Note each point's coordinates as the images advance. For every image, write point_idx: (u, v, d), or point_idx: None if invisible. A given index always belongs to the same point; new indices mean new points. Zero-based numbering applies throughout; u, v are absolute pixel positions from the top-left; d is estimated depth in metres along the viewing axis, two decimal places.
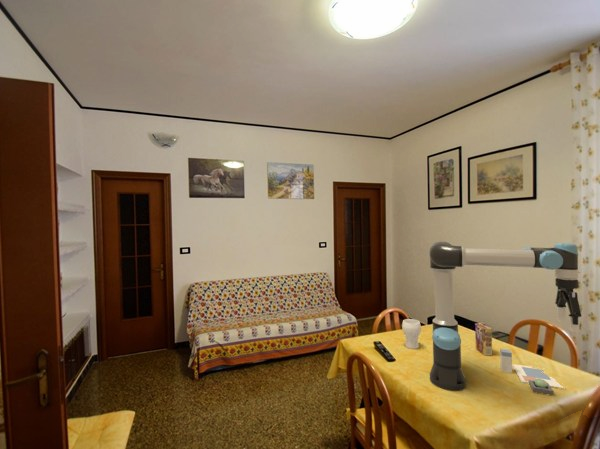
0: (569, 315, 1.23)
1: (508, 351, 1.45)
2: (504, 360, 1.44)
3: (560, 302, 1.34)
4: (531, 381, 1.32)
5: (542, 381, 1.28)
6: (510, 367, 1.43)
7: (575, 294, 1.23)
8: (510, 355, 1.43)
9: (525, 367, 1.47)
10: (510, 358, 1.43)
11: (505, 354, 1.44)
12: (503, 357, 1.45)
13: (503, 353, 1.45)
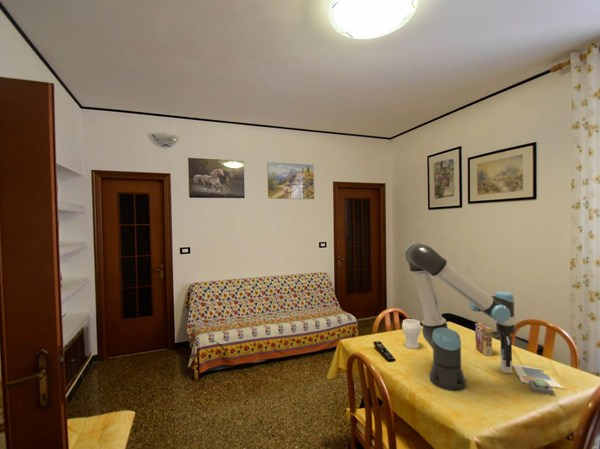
0: (503, 359, 1.43)
1: None
2: None
3: (503, 348, 1.48)
4: (531, 381, 1.32)
5: (542, 381, 1.28)
6: None
7: (510, 343, 1.40)
8: None
9: (525, 367, 1.47)
10: None
11: None
12: (503, 357, 1.45)
13: (503, 353, 1.45)
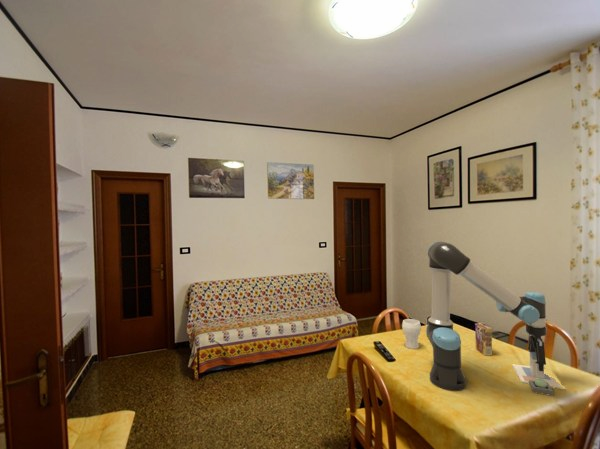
0: (535, 362, 1.35)
1: None
2: (535, 364, 1.39)
3: (531, 348, 1.44)
4: (531, 381, 1.32)
5: (542, 381, 1.28)
6: None
7: (542, 343, 1.33)
8: None
9: (525, 367, 1.47)
10: None
11: None
12: (534, 361, 1.39)
13: (534, 356, 1.39)
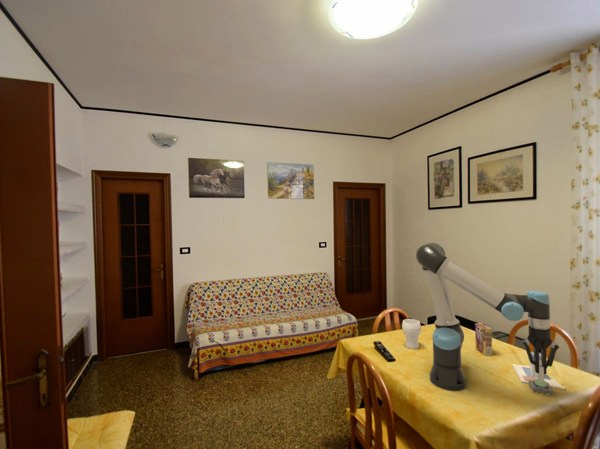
0: None
1: (539, 354, 1.39)
2: None
3: (541, 356, 1.29)
4: (531, 381, 1.32)
5: None
6: None
7: (523, 343, 1.31)
8: None
9: (525, 367, 1.47)
10: (541, 362, 1.37)
11: None
12: None
13: None
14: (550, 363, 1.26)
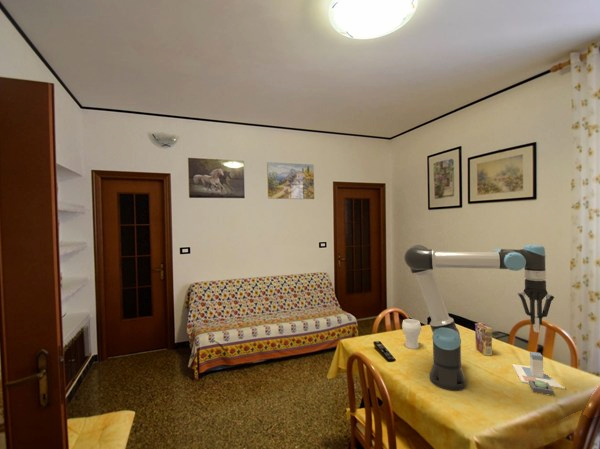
0: None
1: (539, 354, 1.39)
2: (535, 364, 1.39)
3: (537, 308, 1.33)
4: (531, 381, 1.32)
5: (542, 383, 1.28)
6: (541, 371, 1.37)
7: (519, 296, 1.35)
8: (541, 358, 1.37)
9: (525, 367, 1.47)
10: (541, 362, 1.37)
11: (536, 357, 1.38)
12: (534, 361, 1.39)
13: (534, 356, 1.39)
14: (545, 313, 1.30)
